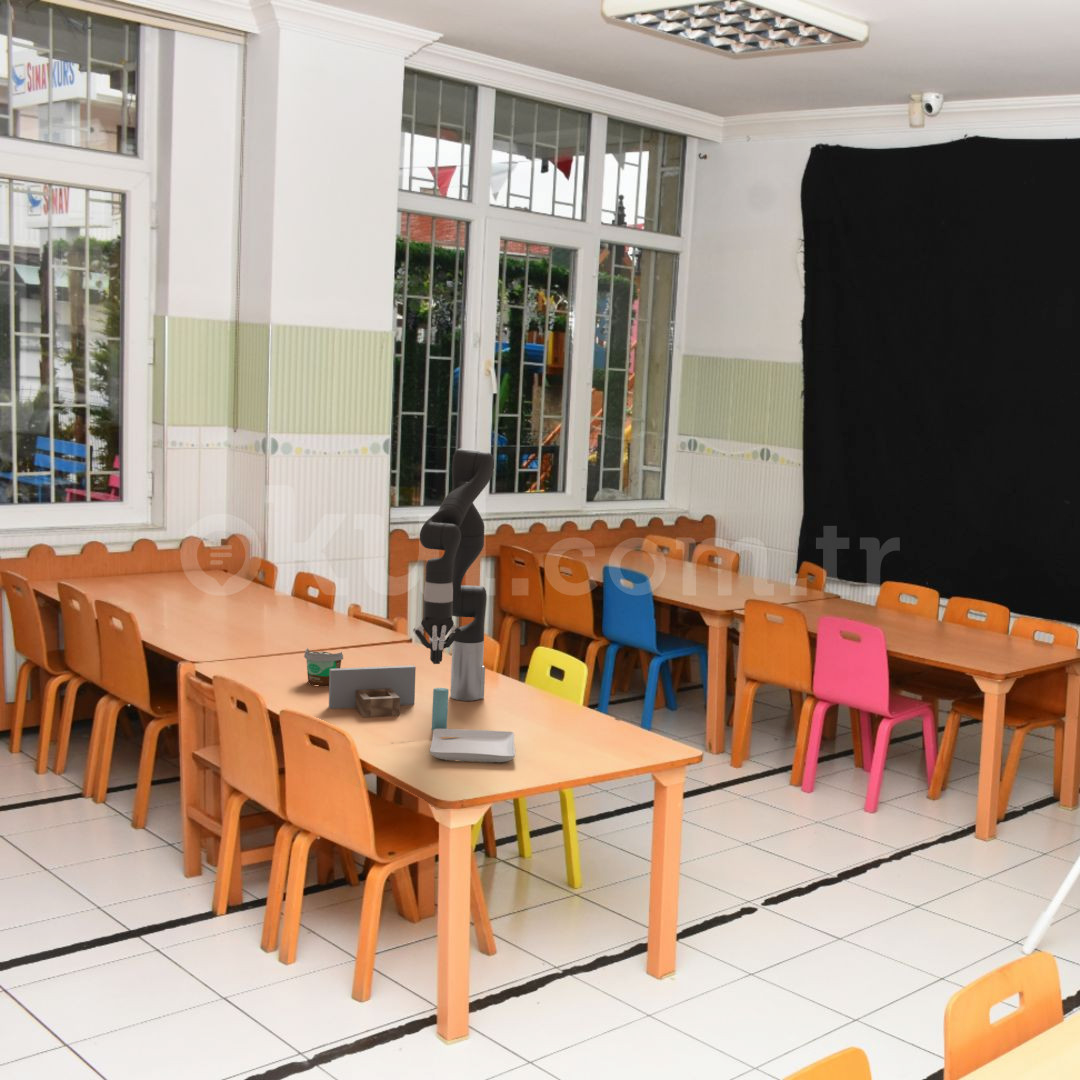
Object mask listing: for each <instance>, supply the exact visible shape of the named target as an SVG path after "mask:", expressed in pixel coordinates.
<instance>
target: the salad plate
mask: <svg viewBox="0 0 1080 1080" xmlns="http://www.w3.org/2000/svg"><path fill="white" fill-rule="evenodd" d="M429 753H430V754H431V755H432V756H433V757H435V758H437V759H441V760H443V759H445V760H444V761H447V760H461V761H460V762H464V761H481V762H480V763H493V762H497V763H506V762H509V761H512V760H513V759H514V758H515V757H516V749H515V733H514V731H506V730H502V731H501V730H490V729H487V730H486V729H465V728H463V729H460V728H447V729H434V730H432V740H431V743H430V748H429Z"/></svg>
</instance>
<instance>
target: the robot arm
mask: <svg viewBox="0 0 1080 1080" xmlns="http://www.w3.org/2000/svg"><path fill="white" fill-rule="evenodd" d="M451 464H452V465H451V475H452V476H451V477H452V491H450V492H449V493H448V494H447V495H446V496H445V497H444V499H443V501H442V502H441V504H440V506H439V508H438V510H437V511H436V512H434V514H432V515H431V516H430V517H428V519H427V520H426V521H425V523H424V524H423V525H422V527H421V529H420V532H419V541H420V544H421V546H422V547H424V548H425V549H428V550H437V551H439V550H440V551H444V553H443V555H442V556H441V557H433V558H429V559H428V560H427V561H426V563H425V583H424V591H423V615H422V616H423V617H422V618H423V619H422V620H421V621H420V622H421V623H420V625H419V626H418V627H414V628H413V630H412V631H413V633H414V634H415V635H416V637H417V638H418V639H419V641H420V643H422V645H423V646H424V647H425V648H427V649H430V652H429V654H430V655H429V656H430V658H429V659H430V661H431V663H432V664H433V665H440V664H441V663H442V661H443V650H444V649H446V648H450V647H451V667H450V668H451V671H450V673H451V674H450V689H449V690H450V698H451V699H453V700H456V701H465V702H469V701H470V702H471V701H478V700H482V699H483V700H484V699H485V679H486V666H485V665H484V653H485V652H484V651H485V650H484V649H485V648H484V647H485V645H484V644H485V623H486V622H485V619H486V610H487V601H488V600H487V599H488V597H487V595H488V594H487V589H486V588H485V586H482V585H465V584H463V585H462V582H463V579H464V577H465V575H466V573H467V571H468V570H469V569H470V568H471V566H472V565H473V563H474V562H475V561H476V559H477V558H478V557H479V556H480V554H481V552H482V551H483V548H484V547H485V546H484V545H485V522H484V521H483V520H484V519H483V518H482V516H481V514H480V512H479V511H478V509H477V507H476V505H475V503H474V502H475V501H476V499H477V498H478V497H479V496H480V494H482V492H483V490H484V489H485V488H486V486H487V485H488V484H489V482H490V481H491V479H492V476H493V474H494V470H495V459H494V456H493V454H492V453H491V452H489V451H483V450H477V449H470V448H461V447H460V448H457V449H456V450H455V451H454V453H453V456H452V463H451ZM453 617H457V618H473V620H472V621H471V622H469V623H467V624H466V625H461V626H459V627H458V626H456V625H455V624H454V623H455V622H454V620H453ZM424 631H425V632H426V634H427V635H428V637H429V638H428V639H429V641H428V639H426V637H425V636H424V633H425V632H424ZM449 632H450V633H449ZM448 634H449V635H448ZM447 635H448V636H447ZM446 636H447V637H446Z"/></svg>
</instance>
